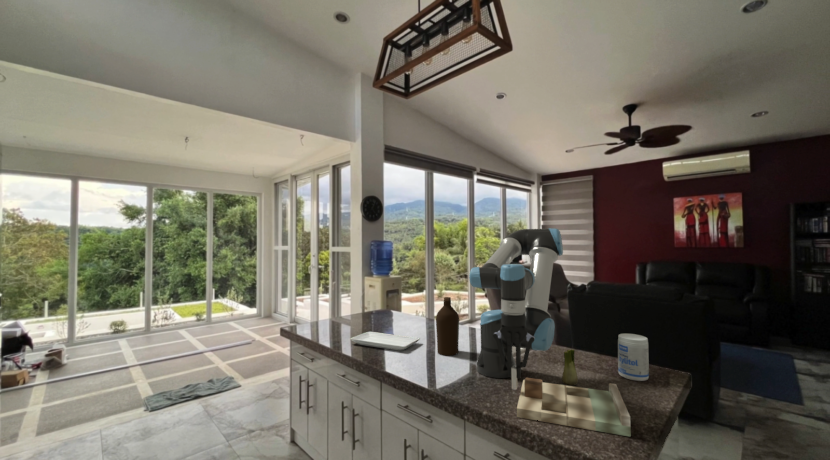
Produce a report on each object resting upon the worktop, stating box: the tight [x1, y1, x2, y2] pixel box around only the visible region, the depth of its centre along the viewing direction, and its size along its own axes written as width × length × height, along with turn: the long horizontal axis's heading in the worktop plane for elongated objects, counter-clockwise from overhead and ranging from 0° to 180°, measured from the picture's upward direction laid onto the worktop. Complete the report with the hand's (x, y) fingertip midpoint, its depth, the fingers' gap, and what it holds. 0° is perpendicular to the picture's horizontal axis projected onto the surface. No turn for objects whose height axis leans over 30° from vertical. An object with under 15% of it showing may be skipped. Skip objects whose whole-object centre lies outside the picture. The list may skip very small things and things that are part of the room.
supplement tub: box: [617, 333, 650, 382], centre depth 128 cm, size 10×10×15 cm
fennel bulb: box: [561, 349, 579, 386], centre depth 121 cm, size 6×5×12 cm
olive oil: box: [435, 296, 460, 357], centre depth 158 cm, size 11×11×25 cm
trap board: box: [516, 379, 632, 437], centre depth 104 cm, size 28×22×5 cm
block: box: [524, 377, 543, 399], centre depth 107 cm, size 5×5×4 cm
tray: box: [349, 331, 421, 352], centre depth 171 cm, size 17×32×4 cm, turn 63°
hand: (514, 387), depth 109 cm, fingers closed
